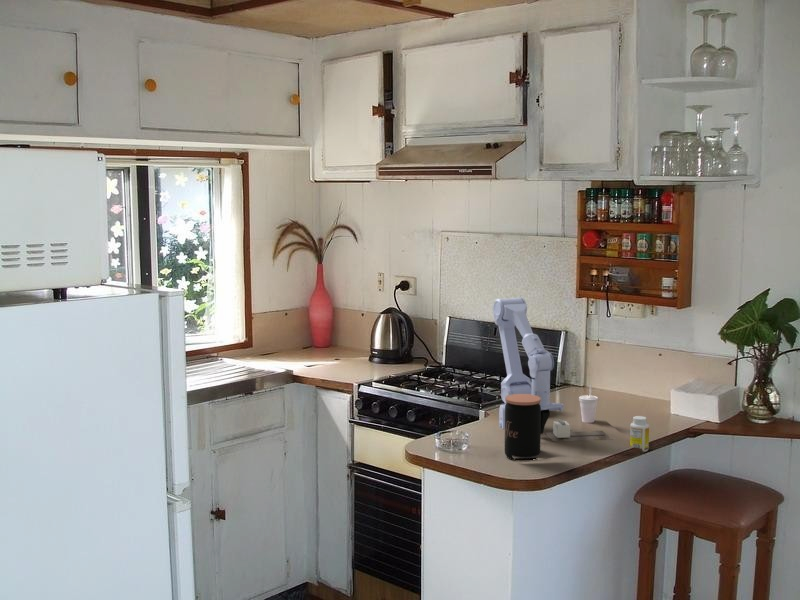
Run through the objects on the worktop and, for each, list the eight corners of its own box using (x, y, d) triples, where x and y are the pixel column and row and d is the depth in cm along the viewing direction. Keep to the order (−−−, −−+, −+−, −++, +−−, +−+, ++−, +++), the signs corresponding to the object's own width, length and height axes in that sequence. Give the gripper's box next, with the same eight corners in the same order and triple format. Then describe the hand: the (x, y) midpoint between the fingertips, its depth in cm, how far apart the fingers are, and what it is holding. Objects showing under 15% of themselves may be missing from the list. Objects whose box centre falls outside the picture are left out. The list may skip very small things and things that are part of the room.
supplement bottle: (644, 447, 284) (645, 414, 283) (651, 452, 278) (652, 419, 277) (627, 447, 283) (628, 415, 282) (633, 453, 278) (634, 420, 277)
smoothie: (597, 428, 305) (598, 387, 303) (578, 427, 306) (579, 386, 304) (597, 423, 311) (598, 383, 309) (578, 422, 313) (579, 382, 311)
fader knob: (557, 437, 288) (557, 423, 287) (553, 433, 293) (553, 419, 292) (569, 437, 288) (570, 423, 287) (565, 433, 293) (565, 419, 292)
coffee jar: (501, 451, 280) (502, 394, 278) (535, 450, 281) (536, 393, 278) (508, 462, 270) (508, 402, 267) (543, 461, 270) (544, 401, 268)
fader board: (553, 446, 285) (553, 441, 285) (544, 437, 295) (545, 432, 295) (612, 444, 287) (612, 439, 287) (602, 435, 297) (602, 430, 297)
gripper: (520, 394, 283) (520, 437, 285) (566, 393, 284) (565, 435, 286) (515, 389, 290) (515, 431, 292) (560, 388, 291) (559, 429, 293)
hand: (540, 433), depth 289 cm, fingers closed
